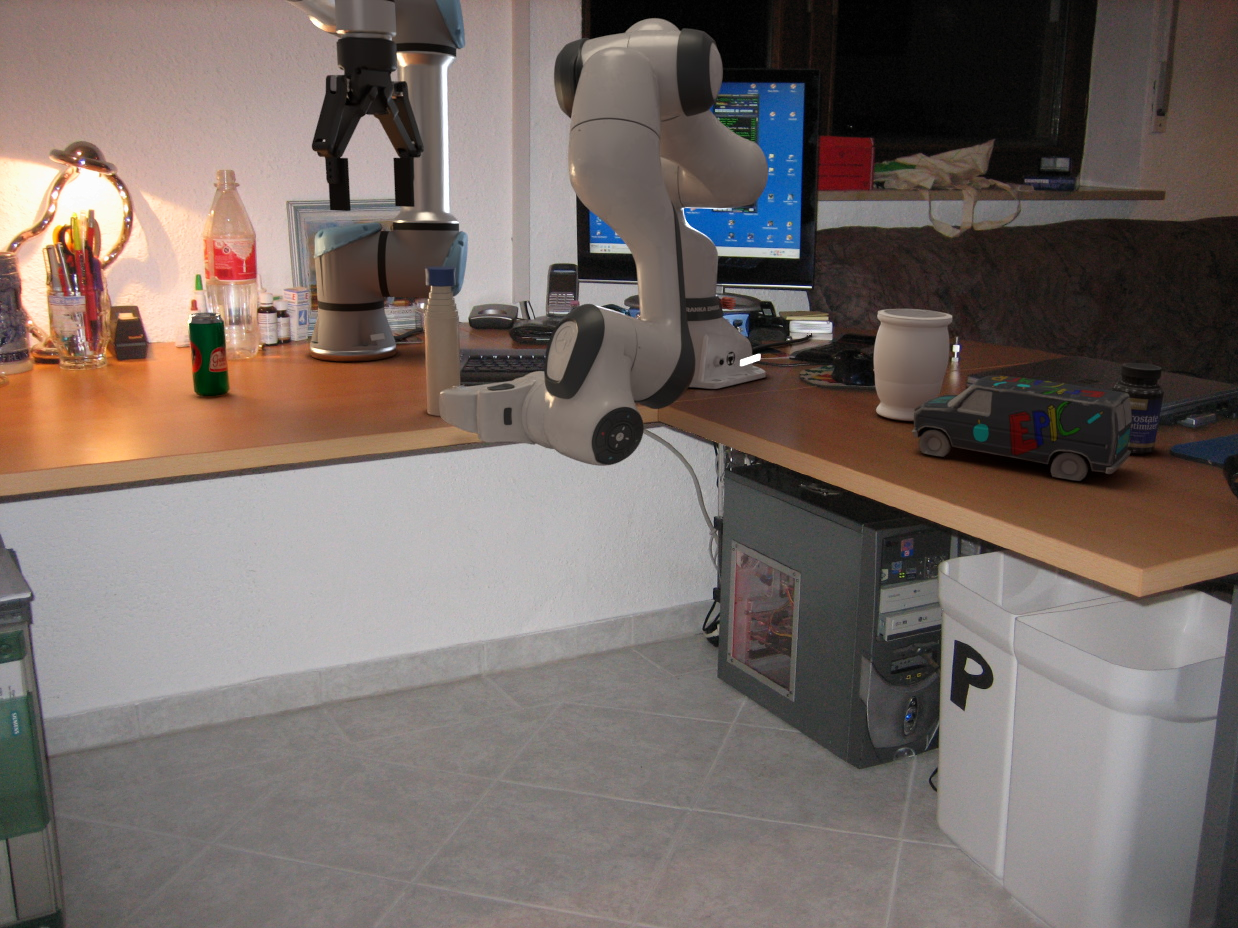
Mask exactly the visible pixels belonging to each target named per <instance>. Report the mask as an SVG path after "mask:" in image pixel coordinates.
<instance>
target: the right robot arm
mask: <svg viewBox="0 0 1238 928" xmlns="http://www.w3.org/2000/svg"><path fill="white" fill-rule="evenodd" d="M723 70H724V67H723V61H722V56H721V53H720V52H719V50H718V46H717V42H716V41H715V39H713V38H712V37H711V36H710V35H709V34H708V33H707V32H706V31H704V30H699V29H694V28H686V27H685V28H682V29H679V28H678V27H677V26H676V25H675V24H674V23H672V22H670V21H669V20H666V19H663V18H658V17H657V18H656V17H654V18H653V17H652V18H646V19H643V20H640V21H637V22H636V23H634V24H633V25H631V26H630V27H629V28H628V29H627V30H626V31H625V32H622V33H616V34H609V35H604V36H599V37H595V38H591V39H590V38H589V37H582V38H579V39H576V40H572V41H571V42H568V43H566V44H565V45H564V46H563V47H562V49H561V50H560V51H559V53H558V54H557V55H556V58H555V61H554V69H553V71H554V72H553V88H554V93H555V97H556V100H557V104H558V106H559V109H560V110H561V111H562V113H564V115H566V116H567V117H568V118H569V119H570V124H569V133H568V143H567V144H568V146H567V172H568V176H569V182H570V185H571V187H572V190H573V191H574V193H575V194H576V196H577V197H578V199H579V201H580V202H581V203H582V205H584V206H585V207H586V208H587V209H588V210H589V211H590V212H591V213H592V214H594V215H595V216H596V217H598V218H599V219H600V220H601V221H602V222H604V223H605V224H606V225H607V226H608V227H609V228H610V229H611V230H612V231H613V232H614V233H615V234H616V235H617V236H618V237H619V239H621V240H622V242H624V244H625V245H626V246H627V248H628V249H629V251H630V253H631V255H632V258H633V260H634V263H635V268H636V279H637V291H638V292H637V293H638V294H637V295H638V306H639V316H640V317H639V318H637V317H635V316H630V315H627V314H625V313H622V312H620V311H616V310H614V309H610V308H606V307H603V306H600V305H595V304H593V303H584V304H581V305H579V306H576V307H574V308H573V309H571V310H570V311H569V312H568V313H566V315H564V316H563V317H562V318H561V319H560V320H559V322H558V323H557V325H555V327H554V329H553V330H552V332H551V334H550V337H549V340H548V342H547V346H546V349H545V355H544V364H543V370H537V371H533V372H532V371H531V372H530V373H527V374H525V375H524V376H522V377H515V378H514V379H513V380H508V381H499V382H493V383H485V384H478V385H470V386H469V385H468V386H466V385H463V384H461V385H459V386H453V387H452V389H445V390H443V391H442V392H441V393H440V396H439V410H440V416H439V417H440V418H441V419H442V420H443V421H444V422H445V423H447V424H449V425H451V426H453V427H455V428H457V429H460V430H462V431H463V432H466V433H471V434H477V435H478V439H479V440H480V441H481V442H484V443H521V444H527V445H531V446H532V445H533V446H534V445H538V446H539V447H540V446H541V447H543V448H545V449H549V450H554V451H556V452H557V453H558V454H560V455H562V456H565V457H567V458H569V459H572V460H574V461H577V462H580V463H583V464H587V465H590V466H600V467H603V466H604V467H605V466H613V465H616V464H619V463H621V462H623V461H624V460H626V459H627V458H629V457H630V456H632V454H634V452H635V451H636V450H637V449H638V447H639V446H640V444H641V442H642V439H643V436H644V431H645V423H644V419H643V416H642V414H641V413H640V410H639V409H638V407H637V405H636V404H638V405H641V406H644V407H647V408H649V409H652V410H660V409H664V408H666V407H668V406H670V405H672V404H673V403H675V402H676V401H678V400H679V398H681V397H682V396H683V395H684V394H685V393H686V391H687V390H688V389H689V388H699V389H706V390H707V389H709V390H717V389H722V388H727V387H730V386H734V385H739V384H743V383H748V382H751V381H752V382H753V381H755V380H759V379H760V380H761V379H763V378H766V377H767V372H766V371H765V370H764V369H763V368H760V367H759V366H756V365H753V364H754V363H755V362H758V361H760V360H761V353H757V354H754V355H753V352H756V351H760V350H763V349H767V348H773V347H774V348H775V347H781V346H786V345H792V344H798V343H803V342H806V341H808V340H809V339H810V338H812V337H813V333H811V335H809V336H808V335H807V334H806V336H803V337H800V338H795V339H790V340H784V341H778V342H771V343H765V344H761V345H756V346H754V347H752V344H751V341H750V340H749V338H747V336H746V335H744V334H743V333H742V332H741V331H739V330H738V329H737V328H736V327H735V326H734V325H732V323H730V321H728V320H727V318H725V317H724V316H725V314H724V310H725V309H727V310H730V311H733V310H734V309H735V307H736V305H737V302H736V301H737V300H736V299H735V298H734V297H728V296H722V298H721V297H719V295H718V294H717V285H718V265H719V263H718V262H719V252H718V249H717V246H716V244H715V243H714V241H713V240H712V239H711V238H710V237H708V236H707V235H706V234H704V233H703V232H701V231H699V230H697V229H695V228H694V227H692V226H691V225H690V224H689V223H688V222H687V220H686V215H685V210H684V209H711V210H712V209H714V210H727V209H728V210H729V209H734V208H740V207H745V206H746V207H747V206H751V205H754V204H755V203H756V202H757V201H758V199H759V198H760V197H761V196H762V195H763V193H764V191H765V189H766V186H767V184H768V180H769V164H768V161H767V157H766V155H765V153H764V150H762V148H761V147H760V146H759V144H757V142H755V141H752V140H750V139H747V138H744V137H742V136H741V135H739V134H738V133H735V132H734V131H732V130H731V129H730V128H728V127H727V126H726V125H725V124H724V123H723V122H721V121H720V120H719V119H718V118H717V117H716V115H715V114H714V113H713V112H712V111H711V108H712V107H713V106H714V105H715V104H716V102H718V98H719V93H720V90H721V88H722V84H723V76H724V71H723ZM723 309H724V310H723Z"/></svg>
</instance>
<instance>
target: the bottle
mask: <svg viewBox="0 0 1238 928" xmlns="http://www.w3.org/2000/svg"><path fill="white" fill-rule="evenodd" d="M430 290H431V291H430V292H429V298H427V299H426V300H427V302H426V303H425V309H424V315H423V324H424V325H423V327H424V330H425V331H424V354H425V355H424V357H425V359H424V360H425V387H426V388H425V389H426V412H427V414H429V415H430V416H438V417H441V416H440V410H439V396H440V393H441V392H442V391H443V390H445V389H452V387H453V386H459V385H462V383H461V347H460V346H461V345H460V344H461V342H460V341H461V339H460V315H459V309H458V308H457V303H456V301H455V300H456V298H455V297H453V292H451V286H446V287H436V286H430Z"/></svg>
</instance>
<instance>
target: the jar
mask: <svg viewBox="0 0 1238 928" xmlns="http://www.w3.org/2000/svg"><path fill="white" fill-rule="evenodd" d="M877 319H878V321H880V325H879V327H878V329H877V334H876V337H875V342H874V347H873V372H874V384H875V385H874V386H875V391H876V395H877V398H878V399H879V401H880V402H879V404H877V405H878V406H877V407H876V409H875V412H876V413H877V415H879V416H881V417H884V418H887V419H889V420H890V419H891V420H896V421H903V422H914V412H915V410H914V409H915V408H917V407H918V406H920V405H921V404H923V403H925V402H927V401H929V400H932V399H934V398H937V397H940V393H941V391H942V388H943V384H944V378H945V377H946V376H945V375H946V373H947V369H948V364H949V360H950V359H949V357H950V334H949V327H948V326H949V325H951V324H952V323H953V315H952V314H950V313H947V312H943V311H936V310H929V309H918V308H888V309H880V310H878V311H877Z"/></svg>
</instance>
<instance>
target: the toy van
mask: <svg viewBox="0 0 1238 928" xmlns="http://www.w3.org/2000/svg"><path fill="white" fill-rule="evenodd" d="M914 410H915V412H914V421H913V429H912V430H911V433H912V435H913V438H914V439H918V438H919V439H918V447H919V450H920V452H921V453H922V454H926V455H930V456H934V457H935V456H936V457H942V458H945V457H946V456H947V455H948V454H949V453H950V452H951V450H952V448H958V449H962V450H963V449H964V450H969V451H974V452H978V453H979V452H980V453H984V454H985V453H986V454H990V455H996V456H1002V457H1007V458H1012V459H1013V458H1014V459H1019V460H1024V461H1029V462H1033V463H1039V464H1043V465H1044V464H1045V465H1048V464H1049V465H1050V463H1051V465H1050V475H1051V476H1052V478H1058V479H1065V480H1069V481H1077V482H1080V481H1082V480H1083V479H1085V478H1086V476H1087V474H1088V472H1089V469H1091V472H1098V473H1105V474H1107V475H1112V474H1113V473H1115V472H1116V471H1117V470H1118V469H1119V468H1120V467H1121V466H1122V465H1123V464H1124V463H1125V462H1126V461H1127V460H1128V458H1129V457H1130V455H1131V454H1132V453H1131V451H1130V450H1128V446H1129V445H1130V442H1129V440H1130V436H1131V430H1132V427H1133V423H1132V414H1131V405H1130V396H1129V394H1127V393H1124V392H1118V391H1112V389H1111V390H1110V389H1104V388H1097V387H1090V386H1084V385H1078V384H1071V383H1064V382H1058V381H1051V380H1043V379H1036V378H1030V377H1029V378H1028V377H1019V376H1009V375H1007V376H1006V375H999V374H997V375H996V374H995V375H987V376H984V377H980V378H979V379H977V380H976V381H975V382H973V383H972V384H971V385H970V386H968V387H967V388H966V389H965V390H963V391H962V392H960V393H958V394H943V395H939V396H938V397H937V398H934V399H932V400H929V401H927V402H925V403H923V404H921V405H920V406H918V407H917V408H915V409H914Z"/></svg>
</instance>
